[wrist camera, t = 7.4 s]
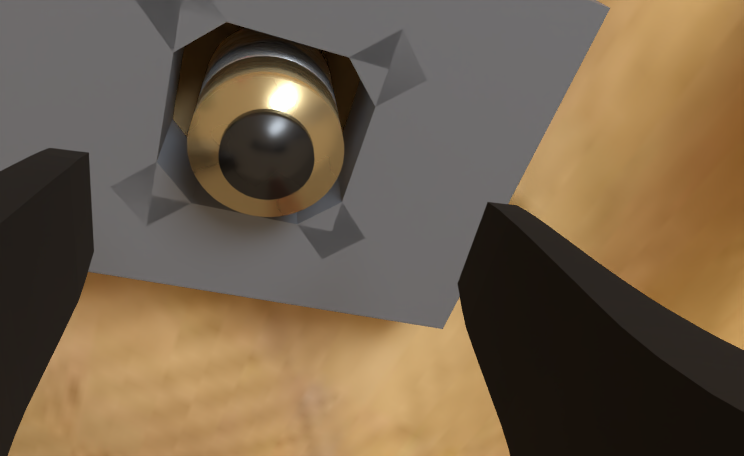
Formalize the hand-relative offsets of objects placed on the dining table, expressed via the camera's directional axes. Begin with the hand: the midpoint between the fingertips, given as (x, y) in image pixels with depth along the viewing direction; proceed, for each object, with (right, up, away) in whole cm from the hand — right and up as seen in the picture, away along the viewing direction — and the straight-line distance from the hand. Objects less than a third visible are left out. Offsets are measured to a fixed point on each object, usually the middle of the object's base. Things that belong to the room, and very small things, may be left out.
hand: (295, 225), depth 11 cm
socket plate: (-2, +4, +8) cm, 9 cm away
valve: (-2, +5, +8) cm, 9 cm away
